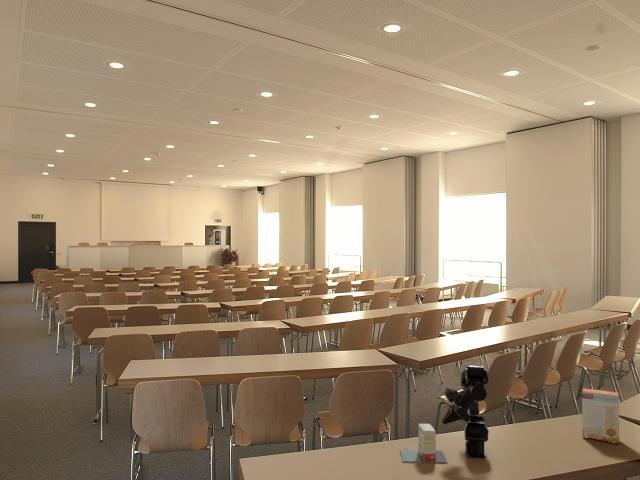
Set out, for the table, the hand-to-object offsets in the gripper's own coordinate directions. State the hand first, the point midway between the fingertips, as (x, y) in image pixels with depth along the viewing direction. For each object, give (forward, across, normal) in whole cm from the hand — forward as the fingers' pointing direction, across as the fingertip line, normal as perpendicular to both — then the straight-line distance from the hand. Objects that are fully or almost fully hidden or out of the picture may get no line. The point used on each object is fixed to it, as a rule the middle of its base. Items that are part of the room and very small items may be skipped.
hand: (443, 422), depth 199 cm
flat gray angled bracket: (+15, 0, +4) cm, 16 cm away
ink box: (+14, -1, +5) cm, 15 cm away
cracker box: (-42, -24, +61) cm, 78 cm away
